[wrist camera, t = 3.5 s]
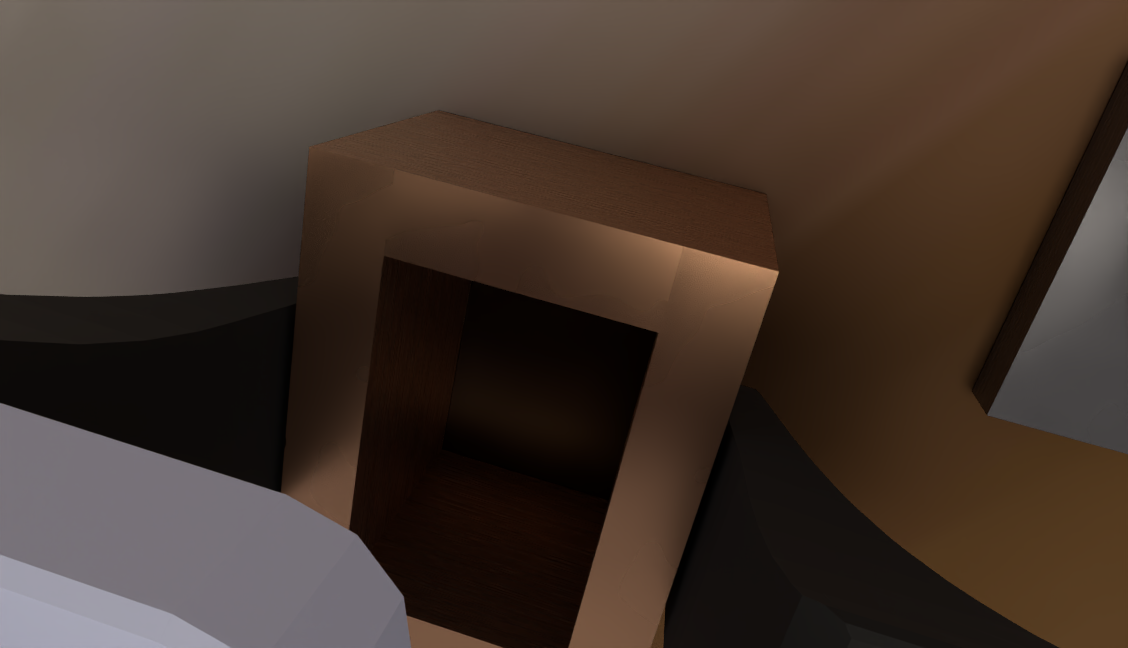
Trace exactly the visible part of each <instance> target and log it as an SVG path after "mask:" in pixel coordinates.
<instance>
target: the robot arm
mask: <svg viewBox="0 0 1128 648" xmlns="http://www.w3.org/2000/svg"><path fill="white" fill-rule="evenodd" d="M298 279H299V277H293V278H286V279H279V280H272V281H265V282H258V283H252V284H245V285H238V286H230V287H221V288H212V289H204V290H195V291H187V292H178V293H167V294H154V295H138V296H110V297H66V296H29V295H2V294H0V648H411V643H410V637H409V630H408V623H407V616H406V609H405V602H404V596H403V595H402V594H401V592H400V591H399V590H398V588H397V587H396V586H395V584H394V583H393V582H392V580H391V579H390V578H389V576H388V575H387V574H386V572H385V571H384V570H383V568H382V567H381V566H380V564H379V563H378V562H377V560H376V559H375V558H374V556H373V555H372V554H371V552H370V551H369V550H368V548H367V547H366V546H365V544H364V543H363V542H362V540H361V539H360V538H359V537H358V535H357V534H355V533H353V532H351V531H350V530H348V529H346V528H344V527H343V526H341V525H339V524H337V523H335V522H334V521H332V520H330V519H328V518H327V517H325V516H323V515H321V514H320V513H318V512H316V511H314V510H313V509H311V508H309V507H307V506H306V505H304V504H302V503H300V502H299V501H297V500H295V499H293V498H292V497H290V496H288V495H286V494H283V493H281V486H282V473H283V461H284V449H285V437H286V425H287V413H288V400H289V388H290V376H291V364H292V352H293V340H294V327H295V315H296V303H297V291H298ZM664 648H1059V647H1057V646H1055V645H1053V644H1051V643H1049V642H1047V641H1045V640H1043V639H1041V638H1039V637H1037V636H1036V635H1034V634H1032V633H1030V632H1029V631H1027V630H1025V629H1023V628H1022V627H1020V626H1018V625H1017V624H1015V623H1013V622H1012V621H1010V620H1008V619H1007V618H1005V617H1003V616H1002V615H1000V614H998V613H997V612H995V611H994V610H992V609H990V608H989V607H987V606H985V605H984V604H982V603H980V602H979V601H977V600H976V599H974V598H972V597H971V596H969V595H968V594H966V593H965V592H963V591H962V590H960V589H959V588H957V587H956V586H954V585H953V584H951V583H950V582H948V581H947V580H945V579H944V578H943V577H941V576H940V575H939V574H937V573H936V572H934V571H933V570H932V569H930V568H929V567H928V566H926V565H925V564H924V563H922V562H921V561H919V560H918V559H917V558H915V557H914V556H913V555H911V554H910V553H908V552H907V551H906V550H905V549H903V548H902V547H901V546H900V545H898V544H897V543H896V542H895V541H893V540H892V539H891V538H890V537H888V536H887V535H886V534H885V533H884V532H883V531H882V530H880V529H879V528H878V527H877V526H876V525H875V524H874V523H873V522H871V521H870V520H869V519H868V518H867V517H866V516H865V515H864V514H863V513H861V512H860V511H859V510H858V509H857V508H856V507H855V506H854V505H853V504H852V503H851V502H850V501H849V500H848V499H847V498H846V497H845V496H844V495H843V494H842V493H841V492H840V491H839V490H838V489H837V488H836V487H835V486H834V485H833V484H832V483H831V482H830V480H829V479H828V478H827V477H826V476H825V475H824V474H823V473H822V472H821V471H820V470H819V468H818V467H817V466H816V465H815V464H814V463H813V461H812V460H811V459H810V458H809V457H808V456H807V454H806V453H805V452H804V451H803V449H802V448H801V447H800V446H799V444H798V443H797V442H796V441H795V439H794V438H793V437H792V436H791V434H790V433H789V432H788V430H787V429H786V428H785V426H784V425H783V424H782V422H781V421H780V420H779V418H778V417H777V416H776V414H775V413H774V412H773V410H772V409H771V408H770V406H769V405H768V404H767V402H766V401H765V400H764V398H763V397H762V396H761V395H760V393H759V392H758V391H757V390H756V389H753V388H750V387H746V386H743V385H740V387H739V390H738V393H737V396H736V399H735V402H734V405H733V408H732V411H731V414H730V417H729V420H728V422H727V425H726V428H725V431H724V434H723V437H722V440H721V443H720V446H719V449H718V452H717V455H716V458H715V460H714V463H713V466H712V469H711V472H710V475H709V478H708V481H707V484H706V487H705V490H704V493H703V496H702V498H701V501H700V504H699V507H698V510H697V513H696V516H695V519H694V522H693V525H692V528H691V531H690V534H689V536H688V539H687V542H686V545H685V548H684V551H683V554H682V557H681V560H680V563H679V566H678V569H677V572H676V575H675V577H674V580H673V583H672V586H671V589H670V592H669V595H668V598H667V601H666V604H665V627H664Z"/></svg>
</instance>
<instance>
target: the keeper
mask: <svg viewBox="0 0 1128 648" xmlns="http://www.w3.org/2000/svg"><path fill="white" fill-rule="evenodd" d="M972 392H973V394H974V395H975V397H976V399H977V400H978V402H979V403H980V405H981V406H982V408H983V409H984V411H985V413H986V414H987V415H988V416H992V417H995V418H999V419H1003V420H1006V421H1010V422H1014V423H1017V424H1021V425H1024V426H1028V427H1032V428H1035V429H1039V430H1043V431H1046V432H1050V433H1053V434H1057V435H1061V436H1064V437H1068V438H1072V439H1075V440H1079V441H1082V442H1086V443H1090V444H1093V445H1097V446H1101V447H1104V448H1108V449H1111V450H1115V451H1119V452H1122V453H1126V454H1128V63H1127V66H1126V68H1125V70H1124V72H1123V74H1122V76H1121V78H1120V80H1119V82H1118V85H1117V87H1116V89H1115V91H1114V93H1113V95H1112V97H1111V99H1110V101H1109V104H1108V106H1107V108H1106V110H1105V112H1104V114H1103V116H1102V118H1101V120H1100V123H1099V125H1098V127H1097V129H1096V131H1095V133H1094V135H1093V137H1092V139H1091V142H1090V144H1089V146H1088V148H1087V150H1086V152H1085V154H1084V156H1083V158H1082V161H1081V163H1080V165H1079V167H1078V169H1077V171H1076V173H1075V175H1074V177H1073V180H1072V182H1071V184H1070V186H1069V188H1068V190H1067V192H1066V194H1065V196H1064V199H1063V201H1062V203H1061V205H1060V207H1059V209H1058V211H1057V213H1056V215H1055V217H1054V220H1053V222H1052V224H1051V226H1050V228H1049V230H1048V232H1047V234H1046V236H1045V239H1044V241H1043V243H1042V245H1041V247H1040V249H1039V251H1038V253H1037V255H1036V258H1035V260H1034V262H1033V264H1032V266H1031V268H1030V270H1029V272H1028V274H1027V277H1026V279H1025V281H1024V283H1023V285H1022V287H1021V289H1020V291H1019V293H1018V296H1017V298H1016V300H1015V302H1014V304H1013V306H1012V308H1011V310H1010V312H1009V315H1008V317H1007V319H1006V321H1005V323H1004V325H1003V327H1002V329H1001V331H1000V334H999V336H998V338H997V340H996V342H995V344H994V346H993V348H992V350H991V352H990V355H989V357H988V359H987V361H986V363H985V365H984V367H983V369H982V371H981V374H980V376H979V378H978V380H977V382H976V384H975V386H974V388H973V390H972Z"/></svg>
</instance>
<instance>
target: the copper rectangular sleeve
mask: <svg viewBox="0 0 1128 648" xmlns="http://www.w3.org/2000/svg"><path fill="white" fill-rule="evenodd" d="M778 273H779V269H778V262H777V256H776V250H775V244H774V238H773V232H772V226H771V220H770V214H769V208H768V202H767V196H766V194H764V193H760V192H756V191H752V190H748V189H744V188H740V187H736V186H732V185H728V184H724V183H720V182H717V181H713V180H709V179H705V178H701V177H697V176H693V175H689V174H685V173H681V172H677V171H674V170H670V169H666V168H662V167H658V166H654V165H650V164H646V163H642V162H638V161H634V160H630V159H627V158H623V157H619V156H615V155H611V154H607V153H603V152H599V151H595V150H591V149H587V148H584V147H580V146H576V145H572V144H568V143H564V142H560V141H556V140H552V139H548V138H544V137H540V136H537V135H533V134H529V133H525V132H521V131H517V130H513V129H509V128H505V127H501V126H497V125H493V124H490V123H486V122H482V121H478V120H474V119H470V118H466V117H462V116H458V115H454V114H450V113H447V112H443V111H439V110H438V111H434V112H431V113H427V114H424V115H420V116H417V117H413V118H409V119H406V120H402V121H399V122H395V123H392V124H388V125H385V126H381V127H378V128H374V129H370V130H367V131H363V132H360V133H356V134H353V135H349V136H346V137H342V138H339V139H335V140H331V141H328V142H324V143H321V144H317V145H314V146H310V147H309V157H308V169H307V181H306V194H305V206H304V218H303V230H302V242H301V254H300V267H299V279H298V291H297V303H296V315H295V327H294V340H293V352H292V364H291V376H290V388H289V400H288V413H287V425H286V437H285V449H284V461H283V473H282V486H281V493H283V494H286V495H288V496H290V497H292V498H293V499H295V500H297V501H299V502H300V503H302V504H304V505H306V506H307V507H309V508H311V509H313V510H314V511H316V512H318V513H320V514H321V515H323V516H325V517H327V518H328V519H330V520H332V521H334V522H335V523H337V524H339V525H341V526H343V527H344V528H346V529H348V530H350V531H351V532H353V533H355V534H357V535H358V537H359V538H360V539H361V540H362V542H363V543H364V544H365V546H366V547H367V548H368V550H369V551H370V552H371V554H372V555H373V556H374V558H375V559H376V560H377V562H378V563H379V564H380V566H381V567H382V568H383V570H384V571H385V572H386V574H387V575H388V576H389V578H390V579H391V580H392V582H393V583H394V584H395V586H396V587H397V588H398V590H399V591H400V592H401V594H402V595H403V596H404V602H405V609H406V616H407V623H408V630H409V637H410V643H411V648H651V645H652V642H653V639H654V636H655V633H656V630H657V627H658V624H659V621H660V618H661V615H662V613H663V610H664V607H665V604H666V601H667V598H668V595H669V592H670V589H671V586H672V583H673V580H674V577H675V575H676V572H677V569H678V566H679V563H680V560H681V557H682V554H683V551H684V548H685V545H686V542H687V539H688V536H689V534H690V531H691V528H692V525H693V522H694V519H695V516H696V513H697V510H698V507H699V504H700V501H701V498H702V496H703V493H704V490H705V487H706V484H707V481H708V478H709V475H710V472H711V469H712V466H713V463H714V460H715V458H716V455H717V452H718V449H719V446H720V443H721V440H722V437H723V434H724V431H725V428H726V425H727V422H728V420H729V417H730V414H731V411H732V408H733V405H734V402H735V399H736V396H737V393H738V390H739V387H740V384H741V382H742V379H743V376H744V373H745V370H746V367H747V364H748V361H749V358H750V355H751V352H752V349H753V346H754V343H755V341H756V338H757V335H758V332H759V329H760V326H761V323H762V320H763V317H764V314H765V311H766V308H767V305H768V303H769V300H770V297H771V294H772V291H773V288H774V285H775V282H776V279H777V276H778ZM471 281H476V282H479V283H483V284H486V285H490V286H493V287H497V288H501V289H504V290H508V291H511V292H515V293H519V294H522V295H526V296H529V297H533V298H536V299H540V300H544V301H547V302H551V303H554V304H558V305H561V306H565V307H569V308H572V309H576V310H579V311H583V312H586V313H590V314H594V315H597V316H601V317H604V318H608V319H611V320H615V321H619V322H622V323H626V324H629V325H633V326H636V327H640V328H644V329H647V330H651V331H654V332H656V336H655V339H654V343H653V346H652V350H651V354H650V357H649V361H648V364H647V368H646V371H645V375H644V378H643V382H642V385H641V389H640V392H639V396H638V399H637V403H636V406H635V410H634V413H633V417H632V420H631V424H630V427H629V431H628V434H627V438H626V441H625V445H624V448H623V452H622V455H621V459H620V462H619V466H618V469H617V473H616V476H615V480H614V483H613V487H612V490H611V494H610V497H609V501H608V500H605V499H602V498H599V497H595V496H592V495H589V494H586V493H582V492H579V491H576V490H573V489H569V488H566V487H563V486H559V485H556V484H553V483H550V482H546V481H543V480H540V479H537V478H533V477H530V476H527V475H524V474H520V473H517V472H514V471H511V470H507V469H504V468H501V467H497V466H494V465H491V464H488V463H484V462H481V461H478V460H475V459H471V458H468V457H465V456H462V455H458V454H455V453H452V452H449V451H445V450H442V445H443V440H444V434H445V428H446V423H447V417H448V411H449V406H450V400H451V394H452V389H453V383H454V377H455V372H456V366H457V360H458V355H459V349H460V343H461V338H462V332H463V326H464V321H465V315H466V309H467V304H468V298H469V292H470V287H471Z"/></svg>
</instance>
